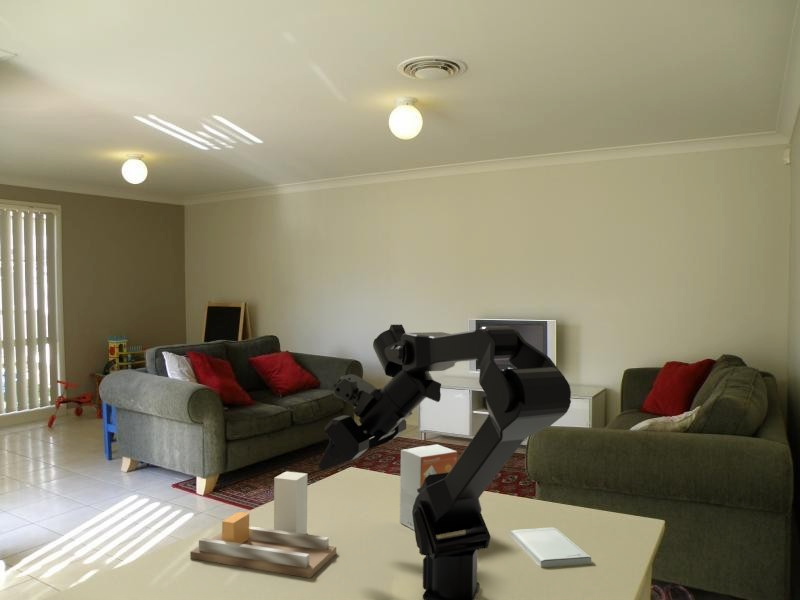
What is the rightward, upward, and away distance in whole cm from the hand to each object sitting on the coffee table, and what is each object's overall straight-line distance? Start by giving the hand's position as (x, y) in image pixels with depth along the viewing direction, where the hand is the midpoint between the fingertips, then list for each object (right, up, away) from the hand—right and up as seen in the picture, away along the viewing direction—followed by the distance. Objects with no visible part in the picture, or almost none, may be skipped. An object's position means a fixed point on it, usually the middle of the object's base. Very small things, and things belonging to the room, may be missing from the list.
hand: (335, 461), depth 101 cm
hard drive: (+34, -15, -1) cm, 37 cm away
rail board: (-10, -13, -5) cm, 17 cm away
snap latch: (-15, -12, -3) cm, 19 cm away
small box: (+15, -14, +9) cm, 23 cm away
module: (-8, -13, +3) cm, 16 cm away
